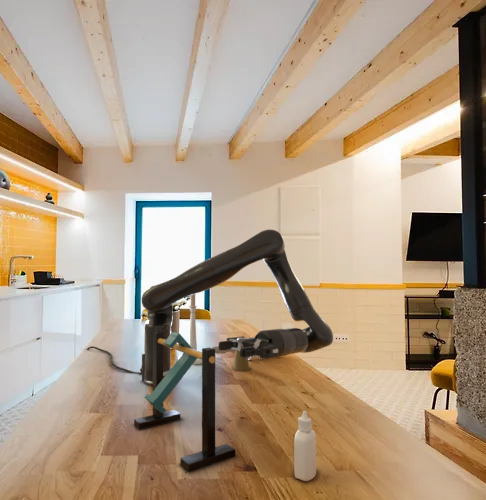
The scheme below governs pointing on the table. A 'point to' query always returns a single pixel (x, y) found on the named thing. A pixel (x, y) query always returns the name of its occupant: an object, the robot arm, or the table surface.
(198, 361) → the candlestick
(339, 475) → the table surface
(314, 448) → the eye dropper bottle
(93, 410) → the table surface
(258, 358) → the ornate silver scepter
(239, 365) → the cork
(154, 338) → the rack
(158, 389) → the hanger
